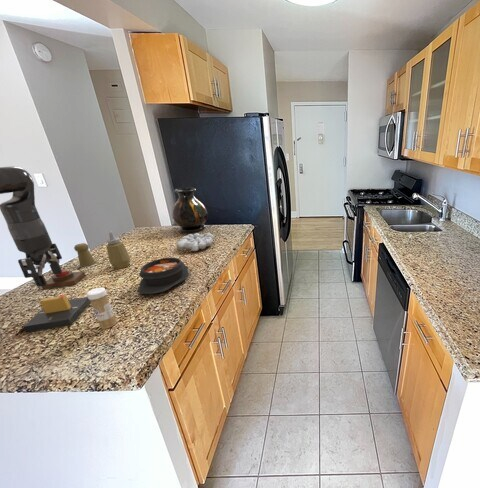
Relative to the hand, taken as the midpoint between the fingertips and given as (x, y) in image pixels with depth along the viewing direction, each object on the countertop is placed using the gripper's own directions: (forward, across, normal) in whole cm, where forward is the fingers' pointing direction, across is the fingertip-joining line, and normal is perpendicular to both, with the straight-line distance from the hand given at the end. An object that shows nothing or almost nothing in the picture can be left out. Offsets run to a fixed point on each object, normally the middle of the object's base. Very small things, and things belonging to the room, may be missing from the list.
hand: (50, 279), depth 86 cm
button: (+11, -29, -14) cm, 34 cm away
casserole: (+15, -15, +28) cm, 35 cm away
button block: (+15, -29, -14) cm, 36 cm away
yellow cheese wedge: (+12, 0, -2) cm, 12 cm away
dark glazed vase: (+15, -90, +30) cm, 96 cm away
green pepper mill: (+15, -47, -13) cm, 51 cm away
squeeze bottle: (+15, -39, +4) cm, 42 cm away
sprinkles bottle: (+15, +11, +16) cm, 24 cm away
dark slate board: (+15, 0, -2) cm, 15 cm away
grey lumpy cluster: (+15, -56, +36) cm, 69 cm away
